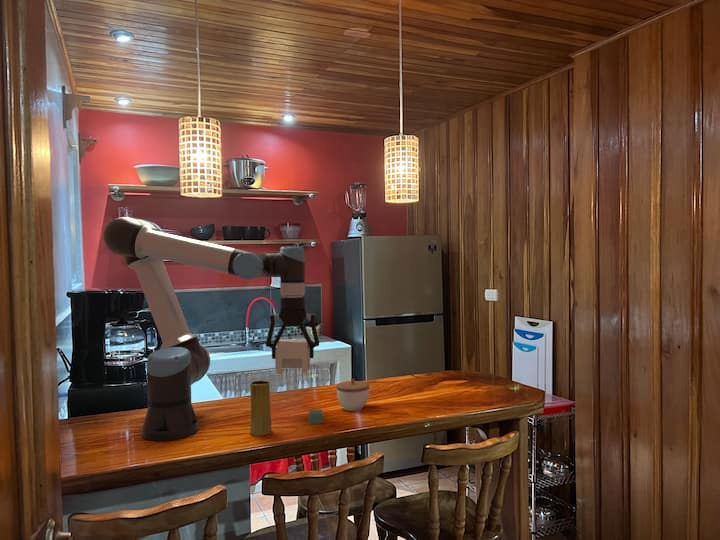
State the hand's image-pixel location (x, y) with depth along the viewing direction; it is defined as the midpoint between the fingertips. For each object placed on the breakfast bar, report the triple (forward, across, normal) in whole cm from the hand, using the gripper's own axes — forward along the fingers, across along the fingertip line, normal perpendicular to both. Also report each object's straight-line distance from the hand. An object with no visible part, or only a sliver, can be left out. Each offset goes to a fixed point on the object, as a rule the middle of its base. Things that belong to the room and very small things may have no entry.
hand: (292, 368), depth 159 cm
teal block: (+15, -7, +5) cm, 17 cm away
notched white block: (0, 0, 0) cm, 0 cm away
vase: (+15, +8, +14) cm, 22 cm away
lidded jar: (+15, -19, -7) cm, 25 cm away
